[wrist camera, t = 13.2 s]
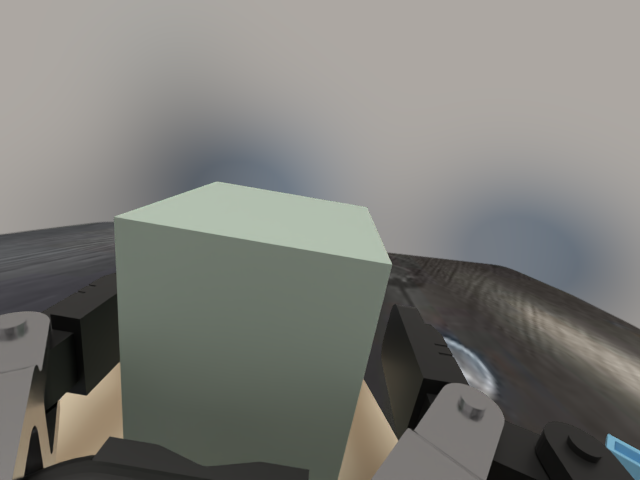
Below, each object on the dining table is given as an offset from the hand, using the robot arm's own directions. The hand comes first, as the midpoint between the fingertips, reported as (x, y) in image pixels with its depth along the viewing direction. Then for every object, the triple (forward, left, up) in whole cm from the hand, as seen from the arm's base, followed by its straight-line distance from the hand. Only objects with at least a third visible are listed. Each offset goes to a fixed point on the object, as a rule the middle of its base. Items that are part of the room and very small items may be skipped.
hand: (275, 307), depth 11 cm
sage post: (+1, +2, -8) cm, 8 cm away
